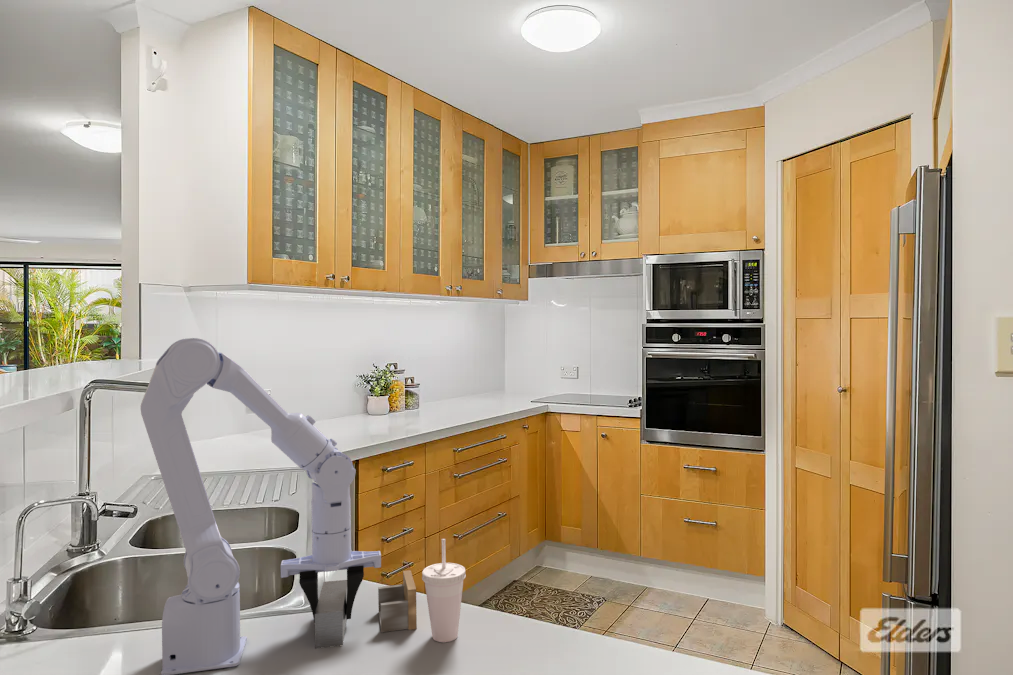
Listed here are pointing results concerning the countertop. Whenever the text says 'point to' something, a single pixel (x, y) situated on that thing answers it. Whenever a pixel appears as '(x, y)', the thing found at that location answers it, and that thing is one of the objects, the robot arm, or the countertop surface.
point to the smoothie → (444, 597)
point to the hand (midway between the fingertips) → (332, 618)
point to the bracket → (398, 605)
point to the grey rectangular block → (331, 614)
